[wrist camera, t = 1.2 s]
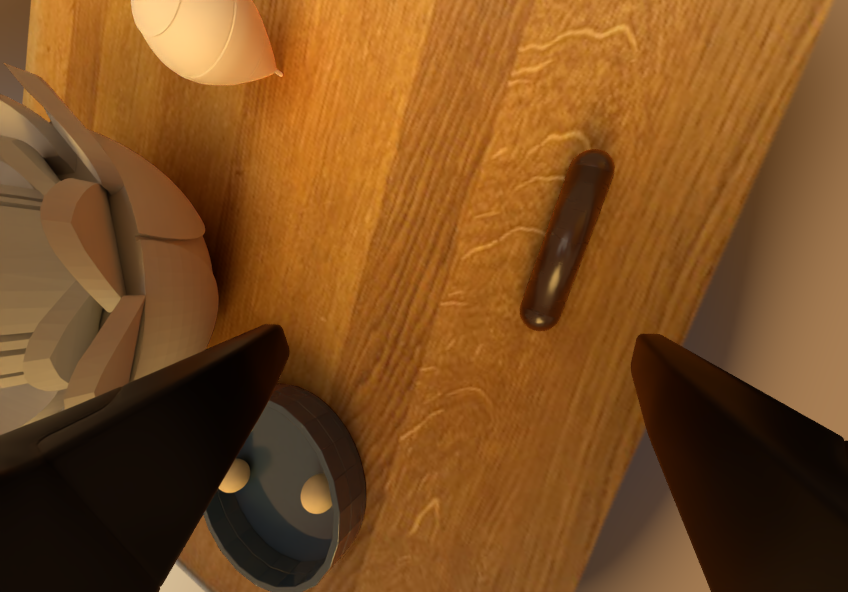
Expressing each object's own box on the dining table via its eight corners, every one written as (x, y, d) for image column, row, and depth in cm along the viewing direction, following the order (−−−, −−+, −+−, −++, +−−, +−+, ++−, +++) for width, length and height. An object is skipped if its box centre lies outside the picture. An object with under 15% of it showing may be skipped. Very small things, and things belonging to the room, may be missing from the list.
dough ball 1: (261, 475, 33) (234, 492, 30) (245, 487, 34) (217, 504, 31) (248, 448, 34) (220, 462, 31) (232, 460, 35) (204, 475, 32)
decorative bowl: (346, 250, 29) (129, 224, 15) (203, 476, 37) (-16, 591, 24) (160, 75, 37) (-86, -42, 24) (80, 292, 46) (-133, 299, 32)
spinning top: (296, 6, 29) (126, -153, 19) (330, 82, 28) (172, -39, 18) (239, 69, 32) (65, -37, 22) (268, 139, 31) (100, 66, 21)
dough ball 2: (349, 493, 29) (327, 514, 26) (328, 505, 30) (304, 527, 27) (332, 461, 29) (309, 479, 27) (312, 475, 30) (287, 493, 28)
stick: (553, 333, 22) (552, 340, 20) (516, 320, 23) (511, 325, 21) (617, 161, 21) (624, 147, 18) (575, 152, 21) (577, 139, 19)
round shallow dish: (402, 524, 28) (378, 556, 24) (279, 585, 34) (247, 617, 30) (302, 349, 31) (270, 357, 28) (207, 432, 37) (171, 447, 34)
